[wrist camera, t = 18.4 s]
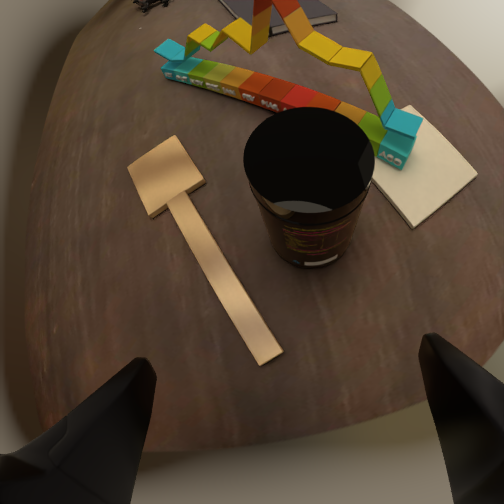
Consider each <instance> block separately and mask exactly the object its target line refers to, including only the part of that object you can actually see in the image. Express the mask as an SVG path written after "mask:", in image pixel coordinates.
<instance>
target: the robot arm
mask: <svg viewBox="0 0 504 504" xmlns="http://www.w3.org/2000/svg"><path fill="white" fill-rule="evenodd" d="M418 357H419V362H420V367H421V371H422V376H423V381H424V386H425V391H426V395H427V400H428V403H429V406H430V409H431V413H432V416H433V420H434V423H435V426H436V430H437V433H438V437H439V441H440V444H441V448H442V452H443V456H444V460H445V464H446V468H447V473H448V477H449V482H450V487H451V492H452V497H453V502H454V504H504V384H503V383H502V382H501V381H500V380H498V379H497V378H496V377H494V376H493V375H492V374H490V373H489V372H488V371H487V370H485V369H484V368H483V367H481V366H480V365H479V364H477V363H476V362H475V361H473V360H472V359H471V358H469V357H468V356H467V355H465V354H464V353H463V352H461V351H460V350H459V349H457V348H456V347H455V346H453V345H452V344H451V343H449V342H448V341H447V340H445V339H444V338H442V337H441V336H440V335H438V334H437V333H434V332H433V333H428V334H425V335H423V337H422V341H421V345H420V349H419V354H418ZM156 381H157V376H156V373H155V371H154V369H153V367H152V365H151V363H150V361H149V360H148V359H147V358H142V357H137V358H135V359H133V360H132V361H131V362H130V363H129V364H127V365H126V366H125V367H124V368H123V369H121V370H120V371H119V372H118V373H117V374H115V375H114V376H113V377H112V378H111V379H109V380H108V381H107V382H106V383H105V384H103V385H102V386H101V387H100V388H99V389H97V390H96V391H95V392H94V393H93V394H91V395H90V396H89V397H88V398H87V399H85V400H84V401H83V402H82V403H81V404H79V405H78V406H77V407H76V408H75V409H73V410H72V411H71V412H70V413H69V414H68V415H67V416H65V417H64V418H62V419H61V420H60V421H59V422H58V423H56V424H55V425H54V426H52V427H51V428H50V429H49V430H47V431H46V432H44V433H43V434H42V435H40V436H39V437H37V438H36V439H34V440H33V441H31V442H30V443H28V444H27V445H25V446H24V447H22V448H21V449H19V450H17V451H15V452H13V453H9V454H0V504H130V502H131V498H132V493H133V488H134V484H135V480H136V475H137V471H138V467H139V462H140V459H141V454H142V450H143V446H144V442H145V438H146V434H147V430H148V426H149V423H150V418H151V413H152V407H153V400H154V393H155V387H156Z"/></svg>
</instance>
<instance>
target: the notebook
mask: <svg viewBox="0 0 504 504" xmlns="http://www.w3.org/2000/svg"><path fill="white" fill-rule="evenodd" d="M219 1H220V2H221V3H222V4H223V5H224V6H225V8H226V9H227V10H228V11H229V12H230V13H231V14H232V15H233V16H234V17H235V18H236V20H237V19H238V18H239V17H241V18H242V19H243V20H244V21H246V22H247V23H248V24H249V25H251V26H252V19H253V6H254V0H219ZM297 1H298V2H299V4H300V6H301V8H302V9H303V11H304V13H305V15H306V17H307V18H308V20H309V22H310V24H311V26H315V25H321V24H326V23H332V22H337V13H336V12H335V11H333V10H332V9H330V8H329V7H328V6H326V5H325V4H323V3H322V2H320V1H319V0H297ZM288 31H289V30H288V29H287V27H286V25H285V23H284V22H283V20H282V18H281V17H280V15H279V13H278V12H277V10H276V8H275V7H274V5H273V4H272V10H271V17H270V26H269V34H268V37H269V36H273V35H276V34H280V33H284V32H288Z"/></svg>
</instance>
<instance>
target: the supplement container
mask: <svg viewBox="0 0 504 504" xmlns="http://www.w3.org/2000/svg"><path fill="white" fill-rule="evenodd" d="M243 161H244V168H245V172H246V175H247V178H248V181H249V185H250V188H251V191H252V193H253V195H254V197H255V199H256V201H257V204H258V207H259V209H260V212H261V215H262V218H263V221H264V224H265V226H266V229H267V232H268V235H269V238H270V241H271V243H272V245H273V247H274V249H275V250H276V252H277V253H278V254H279V255H280V256H281V257H282V258H283V259H285V260H286V261H287V262H289V263H291V264H293V265H296V266H299V267H304V268H318V267H323V266H326V265H328V264H331V263H332V262H334V261H336V260H337V259H338V258H339V257H341V256H342V254H343V253H344V252H345V251H346V249H347V248H348V246H349V244H350V241H351V238H352V236H353V233H354V230H355V227H356V224H357V221H358V218H359V215H360V212H361V209H362V206H363V203H364V200H365V198H366V196H367V193H368V191H369V187H370V183H371V179H372V176H373V172H374V167H375V156H374V150H373V147H372V144H371V142H370V140H369V138H368V137H367V135H366V134H365V132H364V131H363V130H362V129H361V128H360V127H359V126H358V125H357V124H356V123H355V122H354V121H352V120H351V119H349V118H348V117H346V116H344V115H342V114H340V113H338V112H335V111H332V110H329V109H325V108H320V107H297V108H291V109H287V110H284V111H281V112H279V113H276V114H274V115H272V116H271V117H269V118H267V119H266V120H264V121H263V122H262V123H261V124H260V125H259V126H258V127H257V128H256V129H255V130H254V131H253V132H252V134H251V135H250V137H249V139H248V141H247V143H246V146H245V150H244V158H243Z"/></svg>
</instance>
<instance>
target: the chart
mask: <svg viewBox="0 0 504 504" xmlns="http://www.w3.org/2000/svg"><path fill="white" fill-rule="evenodd" d="M272 4H273V5H274V7H275V8H276V10H277V12H278V13H279V15H280V17H281V18H282V20H283V22H284V23H285V25H286V27H287V29H288V30H289V32H290V34H291V35H292V37H293V39H294V41H295V43H296V44H297V46H298V48H300V49H301V50H303V51H305V52H307V53H309V54H310V55H312V56H314V57H316V58H317V59H319V60H321V61H322V62H324V63H326V64H327V65H330V66H335V67H340V68H345V69H350V70H355V71H359V72H360V74H361V76H362V78H363V80H364V82H365V85H366V87H367V89H368V91H369V93H370V96H371V98H372V101H373V103H374V105H375V108H376V110H377V113H378V115H379V117H378V116H376V115H373V114H371V113H369V112H366V111H364V110H362V109H359V108H357V107H355V106H352V105H350V104H348V103H345V102H343V101H342V102H341V101H340V100H338V99H335V98H333V97H330V96H327V95H325V94H322V93H319V92H317V91H314V90H311V89H308V88H305V87H303V86H300V85H297V84H294V83H291V82H287V81H284V80H281V79H278V78H274V77H271V76H268V75H264V74H261V73H257V72H254V71H250V70H246V69H242V68H238V67H234V66H230V65H226V64H222V63H217V62H213V61H208V60H203V59H198V58H192V57H191V56H192V55H193V54H195V53H196V52H197V51H198V50H200V46H202V47H204V48H206V49H207V50H209V51H210V52H211V51H212V50H214V49H215V48H216V47H217V46H219V45H220V44H221V43H222V42H224V41H225V40H226V39H227V38H228V37H229V38H230V39H232V40H233V41H234V42H235V43H237V44H238V45H239V46H240V47H241V48H243V49H244V50H245V51H246V52H247V53H249V54H251V55H252V54H253V53H254V52H255V51H256V50H258V49H259V48H260V47H261V46H262V45H264V44H265V43H266V42H267V41H268V34H269V26H270V17H271V10H272ZM154 51H155V53H157V54H159V55H160V56H162V57H164V58H166V59H167V60H169V61H168V62H167V63H166V64H165V65H163V66H162V67H161V70H162V72H163V74H164V75H165V77H166V78H167V79H172V80H176V81H179V82H183V83H187V84H191V85H194V86H198V87H202V88H205V89H208V90H212V91H215V92H218V93H222V94H225V95H228V96H231V97H234V98H237V99H240V100H243V101H246V102H249V103H252V104H255V105H258V106H260V107H263V108H266V109H269V110H271V111H274V112H277V113H279V112H281V111H284V110H287V109H291V108H297V107H320V108H325V109H329V110H332V111H335V112H338V113H340V114H342V115H344V116H346V117H348V118H349V119H351V120H352V121H354V122H355V123H356V124H357V125H358V126H359V127H360V128H361V129H362V130H363V131H364V132H365V134H366V135H367V137H368V138H369V140H370V142H371V144H372V147H373V150H374V156H376V157H378V158H380V159H382V160H384V161H386V162H388V163H390V164H391V165H393V166H395V167H397V168H399V169H401V170H402V169H403V167H404V165H405V163H406V161H407V159H408V157H409V155H410V153H411V151H412V149H413V146H414V144H415V141H416V138H417V136H416V134H417V132H418V130H419V128H420V125H421V123H422V121H423V118H422V117H419V116H417V115H414V114H411V113H408V112H405V111H403V110H400V109H397V108H395V106H394V103H393V101H392V99H391V95H390V93H389V90H388V88H387V85H386V83H385V80H384V78H383V75H382V73H381V70H380V68H379V66H378V63H377V61H376V59H375V57H374V54H373V53H372V52H368V51H363V50H357V49H352V48H346V47H342V46H341V45H339V44H337V43H335V42H334V41H332V40H330V39H329V38H327V37H325V36H323V35H321V34H320V33H318V32H316V31H314V30H313V28H312V26H311V24H310V22H309V20H308V18H307V17H306V15H305V13H304V11H303V9H302V8H301V6H300V4H299V2H298V1H297V0H254V6H253V19H252V26H251V25H249V24H248V23H247V22H246V21H244V20H243V19H242V18H241V17H239V18H238V19H237V20H235V21H234V22H232V23H231V24H229V25H228V26H227V27H225V28H224V29H222V30H221V32H219V31H217V30H215V29H214V28H212V27H210V26H209V25H207V24H203V25H202V26H200V27H199V28H197V29H196V30H195V31H193V32H192V33H191V34H189V35H188V36H187V42H186V47H183V46H181V45H179V44H178V43H176V42H174V41H172V40H170V39H168V40H166V41H165V42H164V43H163V44H161V45H160V46H159V47H157V48H156V49H155V50H154ZM360 70H361V71H360ZM394 109H395V110H394ZM393 111H394V112H393Z"/></svg>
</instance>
